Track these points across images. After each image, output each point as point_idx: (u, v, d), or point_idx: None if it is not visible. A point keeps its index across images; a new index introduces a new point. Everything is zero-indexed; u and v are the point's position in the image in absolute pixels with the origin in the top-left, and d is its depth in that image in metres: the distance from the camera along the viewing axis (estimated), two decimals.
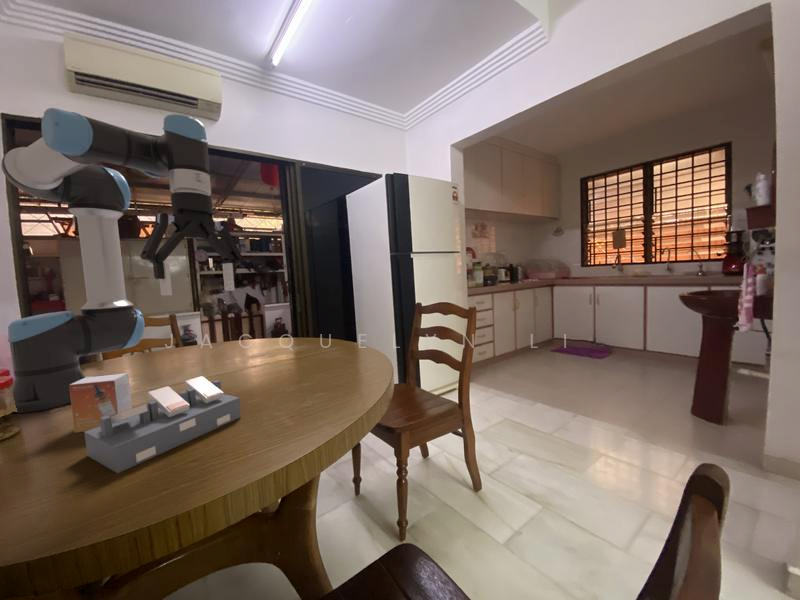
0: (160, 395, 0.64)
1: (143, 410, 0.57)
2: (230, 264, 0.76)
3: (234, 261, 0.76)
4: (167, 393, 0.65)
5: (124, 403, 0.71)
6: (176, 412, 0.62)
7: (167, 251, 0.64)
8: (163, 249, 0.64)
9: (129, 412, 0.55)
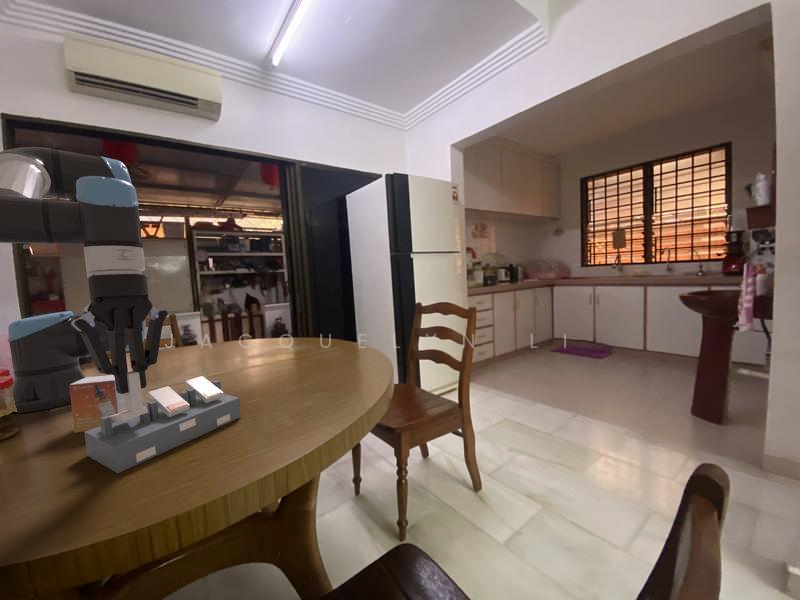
0: (160, 395, 0.64)
1: (143, 412, 0.57)
2: (135, 374, 0.55)
3: (141, 368, 0.55)
4: (167, 393, 0.65)
5: (124, 403, 0.71)
6: (176, 412, 0.62)
7: (121, 359, 0.53)
8: (115, 359, 0.53)
9: (130, 413, 0.55)
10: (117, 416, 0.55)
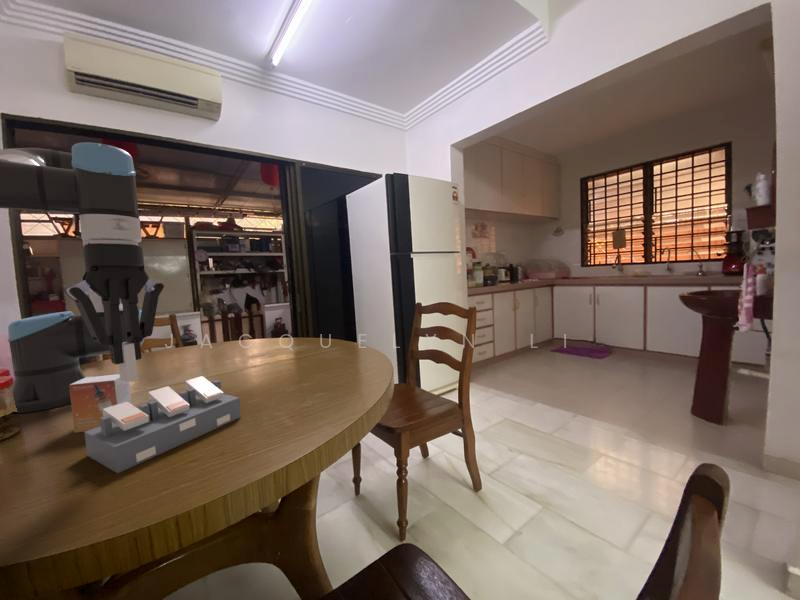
0: (160, 395, 0.64)
1: (144, 421, 0.57)
2: (130, 345, 0.55)
3: (136, 340, 0.55)
4: (167, 393, 0.65)
5: None
6: (176, 412, 0.62)
7: (116, 330, 0.53)
8: (110, 329, 0.53)
9: (132, 423, 0.55)
10: (118, 421, 0.55)
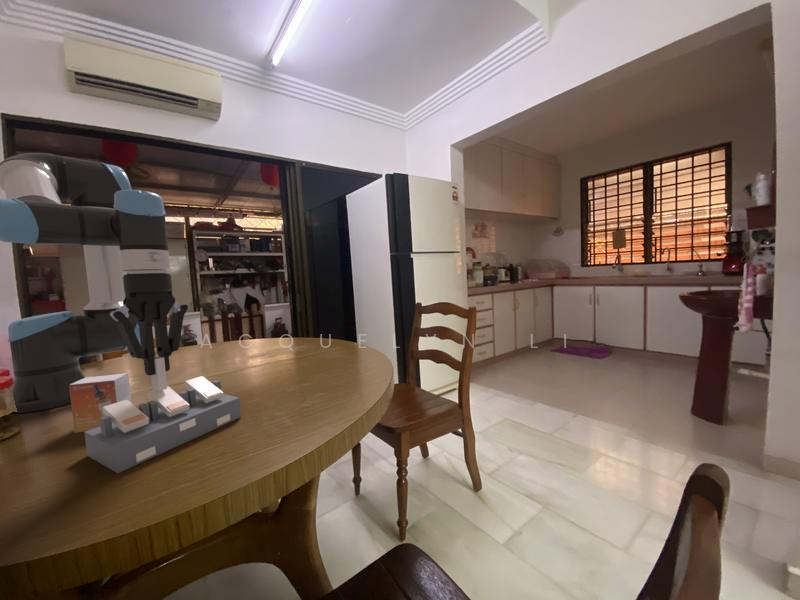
0: (160, 395, 0.64)
1: (144, 423, 0.57)
2: (161, 359, 0.64)
3: (165, 354, 0.65)
4: (167, 393, 0.65)
5: None
6: (176, 412, 0.62)
7: (150, 346, 0.63)
8: (145, 346, 0.62)
9: (132, 426, 0.55)
10: (118, 423, 0.55)
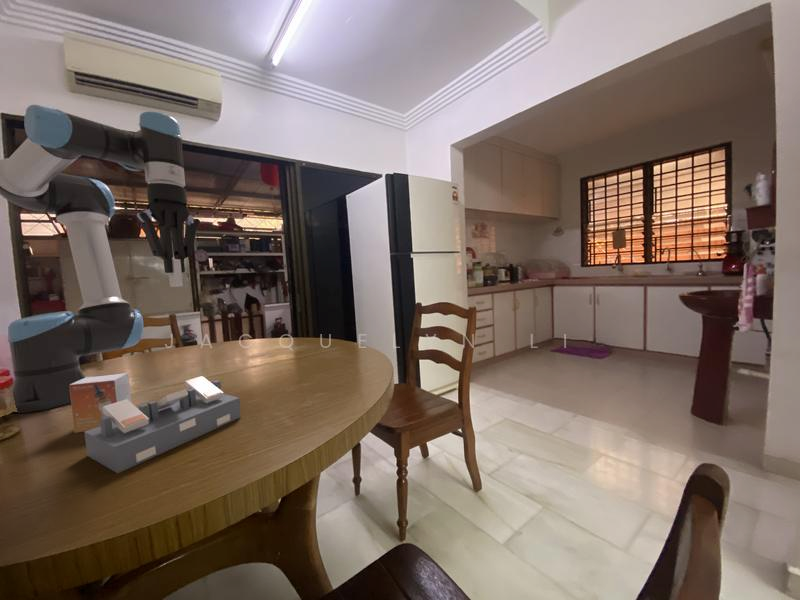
0: None
1: (144, 424, 0.57)
2: (178, 260, 0.76)
3: (181, 256, 0.76)
4: None
5: None
6: (174, 396, 0.61)
7: (169, 247, 0.74)
8: (165, 247, 0.74)
9: (132, 426, 0.55)
10: (118, 423, 0.55)
